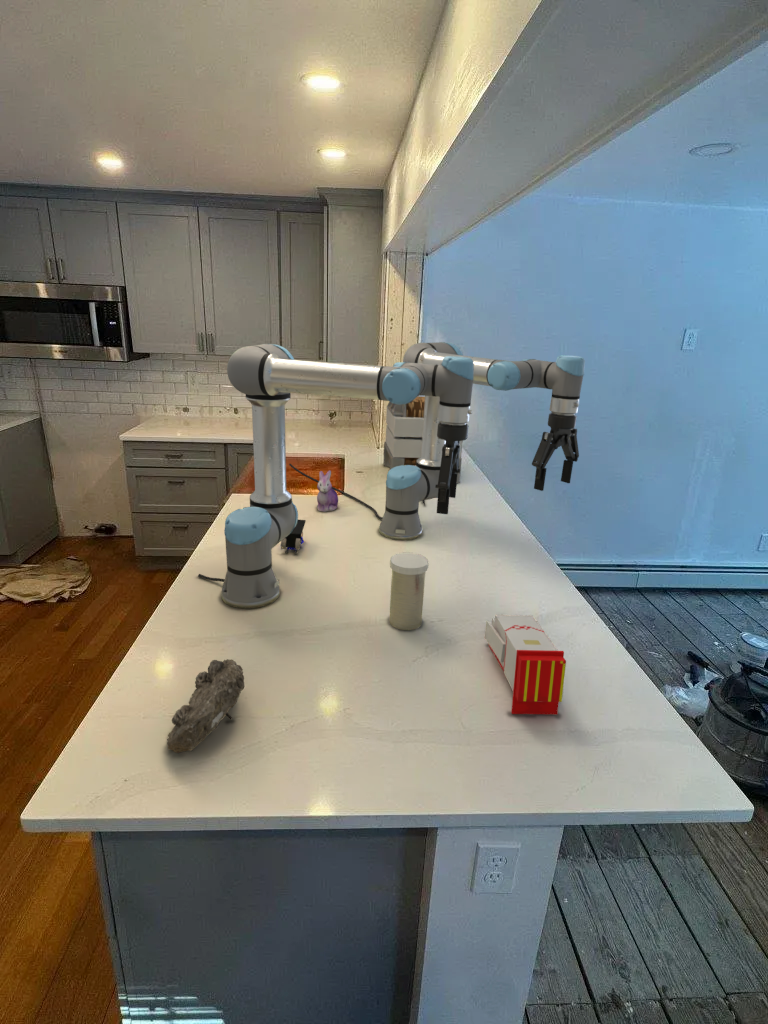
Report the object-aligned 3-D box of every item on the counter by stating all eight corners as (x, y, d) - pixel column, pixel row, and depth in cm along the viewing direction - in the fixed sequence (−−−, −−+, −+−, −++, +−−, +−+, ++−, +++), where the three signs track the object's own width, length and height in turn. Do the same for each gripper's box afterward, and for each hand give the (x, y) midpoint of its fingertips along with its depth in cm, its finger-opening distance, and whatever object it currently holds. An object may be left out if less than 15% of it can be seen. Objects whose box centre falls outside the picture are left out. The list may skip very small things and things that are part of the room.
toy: (530, 600, 137) (574, 657, 108) (525, 651, 140) (567, 720, 111) (480, 599, 137) (511, 656, 107) (477, 651, 139) (506, 719, 110)
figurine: (320, 513, 215) (320, 475, 210) (311, 505, 224) (311, 468, 219) (343, 510, 219) (344, 473, 214) (333, 502, 228) (333, 466, 223)
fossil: (192, 660, 117) (244, 628, 112) (224, 691, 120) (276, 661, 115) (142, 746, 98) (202, 712, 93) (182, 779, 101) (242, 748, 96)
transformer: (382, 463, 289) (386, 382, 275) (445, 464, 293) (451, 384, 279) (390, 482, 257) (394, 392, 243) (460, 483, 261) (468, 394, 247)
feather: (423, 488, 255) (426, 485, 254) (424, 507, 228) (427, 503, 228) (420, 486, 255) (423, 483, 254) (421, 505, 228) (423, 501, 227)
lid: (435, 569, 138) (436, 563, 137) (404, 578, 133) (404, 571, 132) (413, 555, 145) (413, 549, 144) (382, 563, 140) (382, 556, 139)
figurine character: (301, 560, 179) (306, 537, 192) (301, 539, 175) (306, 517, 189) (280, 559, 178) (286, 536, 192) (279, 538, 175) (286, 516, 188)
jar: (428, 625, 143) (432, 564, 137) (401, 633, 139) (405, 571, 133) (408, 610, 149) (412, 552, 144) (383, 618, 145) (385, 558, 139)
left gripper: (462, 433, 126) (454, 523, 133) (474, 415, 149) (466, 492, 156) (429, 430, 127) (422, 518, 135) (445, 413, 150) (439, 489, 157)
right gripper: (548, 419, 148) (537, 496, 155) (598, 411, 163) (586, 482, 171) (525, 414, 153) (515, 489, 160) (575, 407, 169) (564, 476, 176)
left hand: (446, 504), depth 145 cm, fingers open, 13 cm apart
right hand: (552, 485), depth 166 cm, fingers open, 13 cm apart
